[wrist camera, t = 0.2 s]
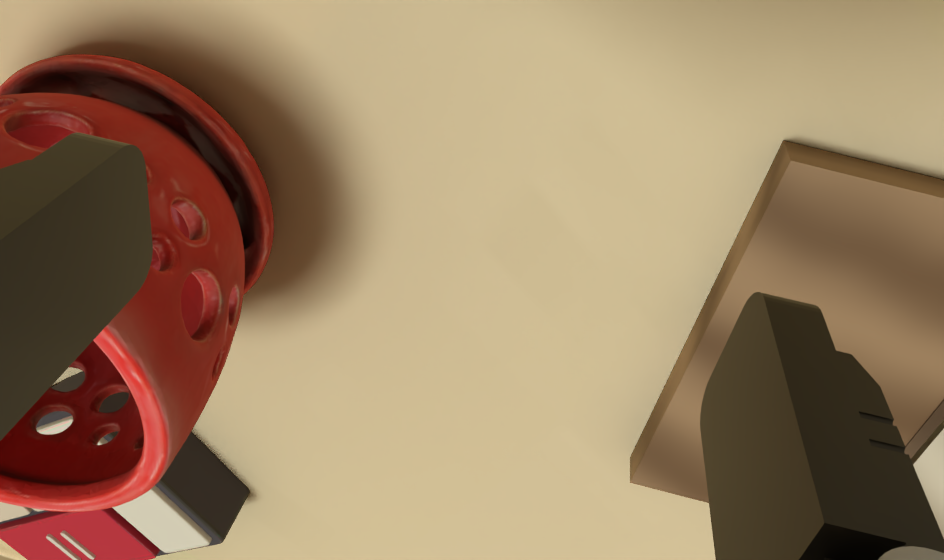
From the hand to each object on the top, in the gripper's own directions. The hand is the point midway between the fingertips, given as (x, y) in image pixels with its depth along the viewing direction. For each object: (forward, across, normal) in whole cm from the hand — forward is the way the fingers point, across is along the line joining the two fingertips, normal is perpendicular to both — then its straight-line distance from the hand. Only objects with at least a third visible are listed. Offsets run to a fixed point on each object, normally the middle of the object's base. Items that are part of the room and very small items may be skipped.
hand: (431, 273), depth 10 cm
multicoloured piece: (+19, +19, +31) cm, 41 cm away
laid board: (+18, -14, +12) cm, 26 cm away
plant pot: (+18, +14, +12) cm, 26 cm away
